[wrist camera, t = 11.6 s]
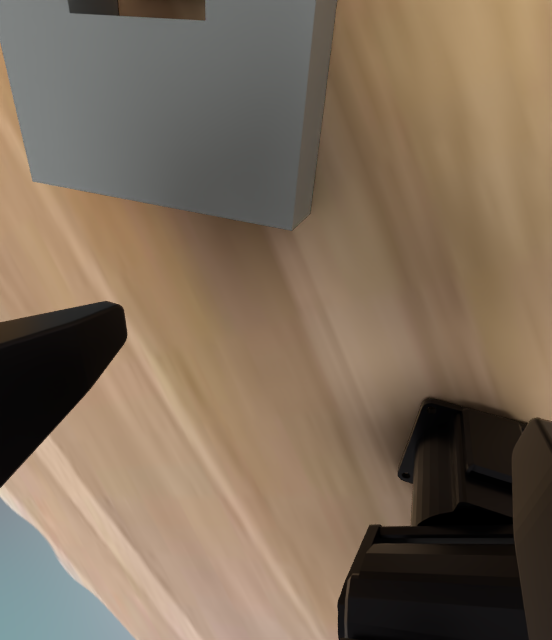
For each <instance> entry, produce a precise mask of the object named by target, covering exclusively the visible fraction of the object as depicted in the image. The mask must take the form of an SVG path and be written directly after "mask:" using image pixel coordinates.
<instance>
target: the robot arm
mask: <svg viewBox="0 0 552 640" xmlns="http://www.w3.org/2000/svg"><path fill="white" fill-rule="evenodd" d="M126 339H127V327H126V320H125V313H124V309H123V307H122V306H121V305H119V304H116V303H112V302H108V301H103V302H98V303H93V304H88V305H83V306H79V307H74V308H69V309H64V310H59V311H54V312H49V313H44V314H39V315H34V316H29V317H25V318H20V319H15V320H10V321H5V322H0V488H1V487H2V486H3V485H4V484H5V482H6V481H7V480H8V479H9V478H10V477H11V476H12V475H13V474H14V473H15V472H16V470H17V469H18V468H19V467H20V466H21V465H22V464H23V463H24V462H25V461H26V459H27V458H28V457H29V456H30V455H31V454H32V453H33V452H34V451H35V450H36V449H37V447H38V446H39V445H40V444H41V443H42V442H43V441H44V440H45V439H46V438H47V436H48V435H49V434H50V433H51V432H52V431H53V430H54V429H55V428H56V427H57V425H58V424H59V423H60V422H61V421H62V420H63V419H64V418H65V417H66V416H67V415H68V413H69V412H70V411H71V410H72V409H73V408H74V407H75V406H76V405H77V404H78V402H79V401H80V400H81V399H82V398H83V397H84V396H85V395H86V393H87V392H88V391H89V390H90V389H91V387H92V386H93V385H94V384H95V382H96V381H97V380H98V378H99V377H100V376H101V374H102V373H103V372H104V370H105V369H106V368H107V366H108V365H109V364H110V362H111V361H112V360H113V358H114V357H115V356H116V354H117V353H118V352H119V350H120V349H121V348H122V346H123V345H124V343H125V341H126ZM428 407H434V408H435V409H429V408H428ZM407 473H408V474H407ZM398 477H399V478H400V479H401V480H403V481H406V482H409V483H412V484H413V491H412V509H411V526H384V527H382V526H381V525H380V524H378V525H369V527H368V529H367V532H366V534H365V536H364V539H363V541H362V543H361V546H360V548H359V550H358V553H357V555H356V557H355V559H354V562H353V564H352V566H351V569H350V571H349V573H348V576H347V578H346V580H345V583H344V585H343V588H342V591H341V595H340V597H339V600H338V638H339V640H552V421H548V420H544V419H541V418H533V419H531V420H530V421H529V423H528V424H523V423H519V422H517V421H513V420H509V419H506V418H502V417H499V416H495V415H491V414H488V413H484V412H480V411H477V410H473V409H469V408H465V407H461V406H458V405H454V404H451V403H447V402H443V401H440V400H436V399H431V398H430V399H426V400H424V401H423V403H422V405H421V408H420V410H419V413H418V416H417V418H416V421H415V424H414V427H413V429H412V432H411V435H410V437H409V440H408V443H407V446H406V448H405V451H404V454H403V457H402V459H401V462H400V465H399V467H398Z"/></svg>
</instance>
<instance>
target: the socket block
mask: <svg viewBox="0 0 552 640" xmlns="http://www.w3.org/2000/svg"><path fill="white" fill-rule="evenodd" d="M336 6H337V0H205V20H206V21H204V20H185V19H167V18H148V17H130V16H119V13H118V3H117V0H0V43H1V47H2V51H3V56H4V60H5V64H6V69H7V73H8V77H9V82H10V86H11V90H12V94H13V99H14V103H15V107H16V112H17V116H18V120H19V125H20V129H21V133H22V137H23V142H24V146H25V150H26V155H27V159H28V163H29V168H30V172H31V176H32V180H33V182H38V183H44V184H49V185H54V186H59V187H65V188H70V189H75V190H80V191H86V192H91V193H96V194H101V195H107V196H112V197H117V198H122V199H128V200H133V201H138V202H143V203H149V204H154V205H159V206H164V207H170V208H175V209H180V210H185V211H191V212H196V213H201V214H206V215H212V216H217V217H222V218H227V219H233V220H238V221H243V222H248V223H254V224H259V225H264V226H269V227H275V228H280V229H285V230H290V231H292V230H293V229H294V228H295V227H296V226H298V225H299V224H300V223H301V222H302V221H303V220H304V219H305V218H306V217H307V216H308V215H309V214H310V212H311V204H312V196H313V188H314V180H315V172H316V164H317V156H318V148H319V140H320V132H321V124H322V117H323V109H324V101H325V93H326V85H327V77H328V69H329V61H330V53H331V45H332V37H333V30H334V22H335V14H336Z"/></svg>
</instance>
